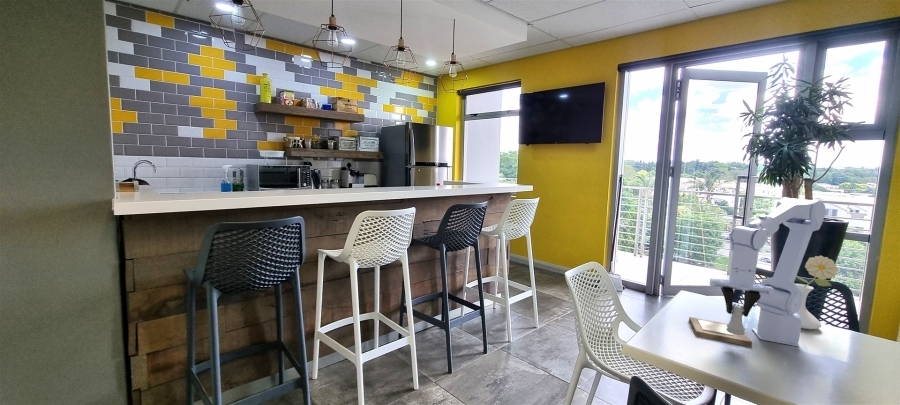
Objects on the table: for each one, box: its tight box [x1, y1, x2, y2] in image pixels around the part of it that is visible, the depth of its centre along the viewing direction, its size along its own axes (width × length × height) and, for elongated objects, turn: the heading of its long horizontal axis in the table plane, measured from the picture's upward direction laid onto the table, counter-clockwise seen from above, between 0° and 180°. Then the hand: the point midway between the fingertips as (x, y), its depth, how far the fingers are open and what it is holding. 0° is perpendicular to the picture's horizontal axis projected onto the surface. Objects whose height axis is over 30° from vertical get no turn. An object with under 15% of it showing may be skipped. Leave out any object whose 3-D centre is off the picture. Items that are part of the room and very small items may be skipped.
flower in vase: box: [795, 255, 839, 330], centre depth 125 cm, size 13×11×25 cm
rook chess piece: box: [726, 303, 746, 335], centre depth 108 cm, size 4×4×8 cm
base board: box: [688, 316, 753, 348], centre depth 118 cm, size 14×12×2 cm
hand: (736, 313), depth 108 cm, fingers closed on rook chess piece, 3 cm apart
